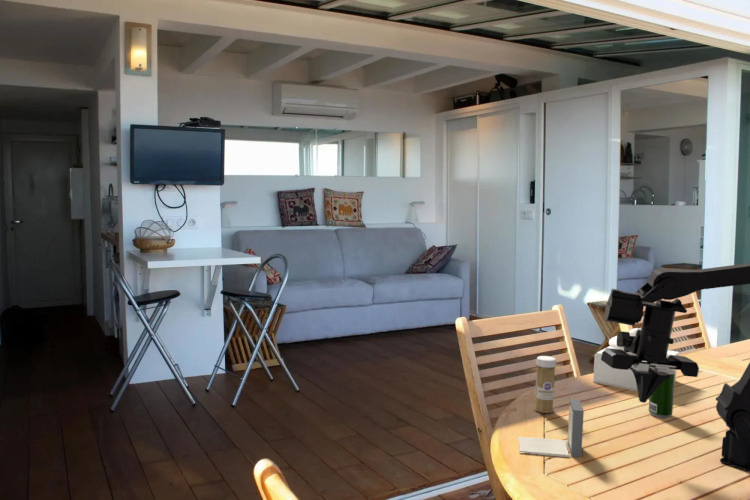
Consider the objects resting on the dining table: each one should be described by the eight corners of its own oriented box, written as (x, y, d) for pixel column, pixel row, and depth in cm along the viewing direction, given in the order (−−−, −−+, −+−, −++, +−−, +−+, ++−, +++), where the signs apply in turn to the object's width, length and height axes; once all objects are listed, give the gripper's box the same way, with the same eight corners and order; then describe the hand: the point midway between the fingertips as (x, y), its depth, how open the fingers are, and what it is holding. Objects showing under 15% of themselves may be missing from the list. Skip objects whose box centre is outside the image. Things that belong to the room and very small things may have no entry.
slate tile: (576, 444, 147) (579, 399, 146) (581, 457, 140) (583, 410, 139) (567, 443, 147) (569, 399, 146) (570, 456, 141) (573, 410, 140)
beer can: (663, 420, 163) (666, 371, 162) (643, 413, 167) (646, 365, 166) (676, 416, 166) (680, 368, 164) (657, 409, 170) (660, 362, 169)
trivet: (564, 442, 148) (564, 440, 148) (568, 457, 140) (569, 455, 140) (518, 438, 150) (518, 436, 150) (519, 453, 142) (519, 450, 142)
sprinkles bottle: (540, 414, 165) (543, 360, 164) (530, 408, 169) (533, 355, 168) (557, 412, 166) (559, 359, 165) (547, 406, 171) (549, 354, 169)
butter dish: (615, 369, 206) (618, 318, 204) (677, 382, 194) (681, 327, 193) (592, 382, 192) (595, 327, 190) (658, 396, 181) (662, 338, 179)
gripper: (677, 324, 148) (663, 392, 150) (596, 315, 146) (584, 384, 148) (707, 338, 137) (692, 411, 139) (620, 328, 135) (606, 403, 137)
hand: (642, 401), depth 141 cm, fingers closed
